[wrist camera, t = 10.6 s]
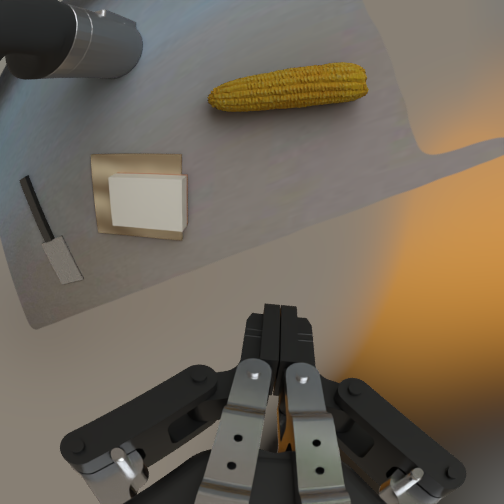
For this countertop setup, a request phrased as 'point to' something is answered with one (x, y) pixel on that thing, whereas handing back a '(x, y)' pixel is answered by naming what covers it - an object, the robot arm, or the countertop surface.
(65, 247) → the knife with black handle
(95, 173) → the board
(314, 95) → the food
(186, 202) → the sponge
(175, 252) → the countertop surface
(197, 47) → the countertop surface
